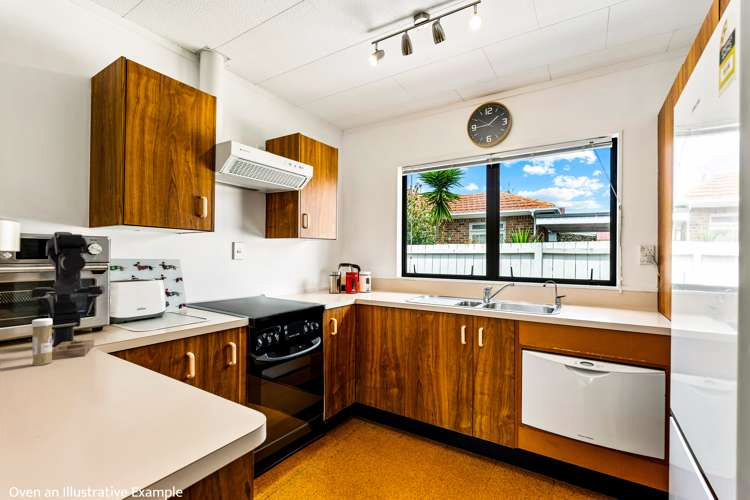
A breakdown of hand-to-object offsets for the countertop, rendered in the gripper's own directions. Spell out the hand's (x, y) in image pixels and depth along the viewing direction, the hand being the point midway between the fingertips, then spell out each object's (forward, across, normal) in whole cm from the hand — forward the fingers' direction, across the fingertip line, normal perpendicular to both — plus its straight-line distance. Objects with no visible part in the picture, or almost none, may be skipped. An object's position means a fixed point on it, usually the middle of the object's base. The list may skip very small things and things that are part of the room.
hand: (69, 316), depth 123 cm
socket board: (+12, +1, -2) cm, 12 cm away
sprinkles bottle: (+12, -3, -14) cm, 19 cm away
